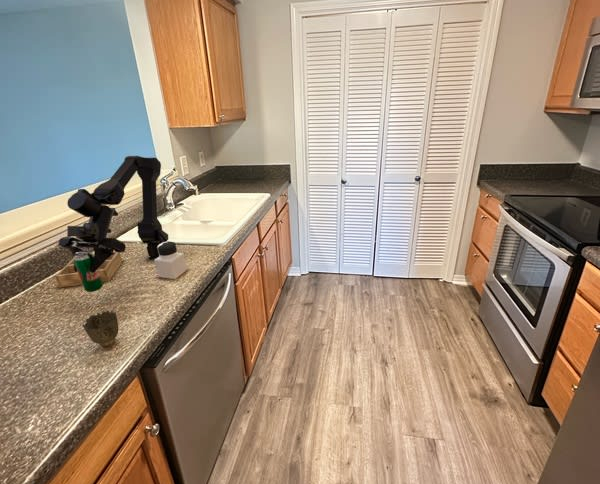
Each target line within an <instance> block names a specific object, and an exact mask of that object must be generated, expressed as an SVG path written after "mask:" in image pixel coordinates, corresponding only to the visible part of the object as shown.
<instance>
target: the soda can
mask: <svg viewBox="0 0 600 484" xmlns="http://www.w3.org/2000/svg"><path fill="white" fill-rule="evenodd" d="M93 254H94V253H92V252H91V250H88V249H87V250H86V249H85V250H84V251H80V252H78V253H75V254H74V255H73V254H72V259H73V261H74V264H75V266H76V269H77V271H78V274H79V277H80V279H81V282H82V287H83V289H84V291H85V292H88V293H93V292H94V293H95V292H97V291H99V290H101V289H102V288H103V286H104V283H103V282H102V279H101V276H100V273H99V270H98V269H97V270H96V271H95V272H94V273H92V272H90V271H91V265H92V262H93V258H94V256H93ZM73 257H74V258H73Z"/></svg>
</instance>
